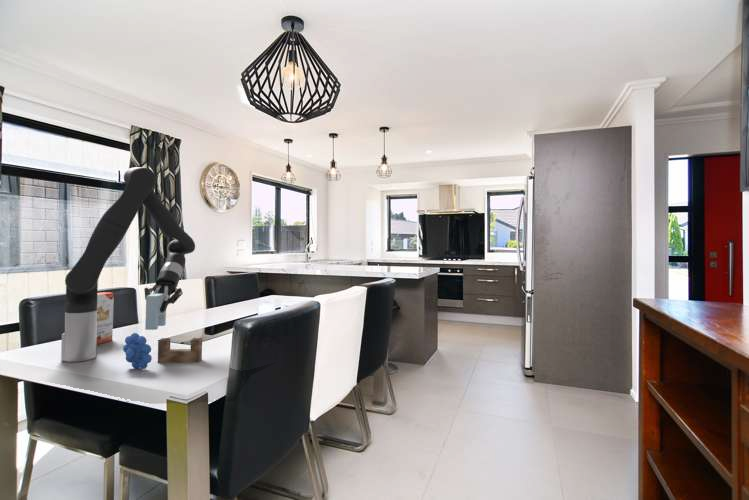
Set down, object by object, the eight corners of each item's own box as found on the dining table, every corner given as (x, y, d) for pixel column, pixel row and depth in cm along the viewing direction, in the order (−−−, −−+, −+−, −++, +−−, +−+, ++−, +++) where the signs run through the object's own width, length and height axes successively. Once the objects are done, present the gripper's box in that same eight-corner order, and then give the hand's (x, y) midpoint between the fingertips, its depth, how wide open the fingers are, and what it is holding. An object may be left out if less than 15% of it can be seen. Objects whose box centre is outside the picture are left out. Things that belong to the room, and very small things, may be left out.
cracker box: (83, 348, 152) (84, 296, 152) (70, 347, 154) (71, 295, 154) (113, 340, 166) (114, 292, 166) (102, 339, 167) (103, 291, 167)
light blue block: (145, 329, 137) (146, 296, 137) (155, 324, 145) (156, 293, 145) (155, 329, 137) (156, 296, 137) (165, 325, 146) (166, 293, 146)
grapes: (111, 370, 127) (112, 334, 127) (130, 364, 133) (131, 330, 133) (138, 374, 123) (139, 337, 123) (156, 368, 130) (157, 333, 130)
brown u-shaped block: (157, 362, 136) (158, 340, 136) (161, 360, 139) (161, 338, 139) (199, 362, 138) (199, 340, 138) (201, 359, 141) (202, 338, 141)
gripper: (148, 269, 149) (131, 304, 137) (186, 269, 151) (173, 305, 139) (153, 281, 155) (138, 317, 143) (190, 282, 156) (178, 317, 144)
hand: (155, 311), depth 141 cm, fingers closed on light blue block, 3 cm apart
